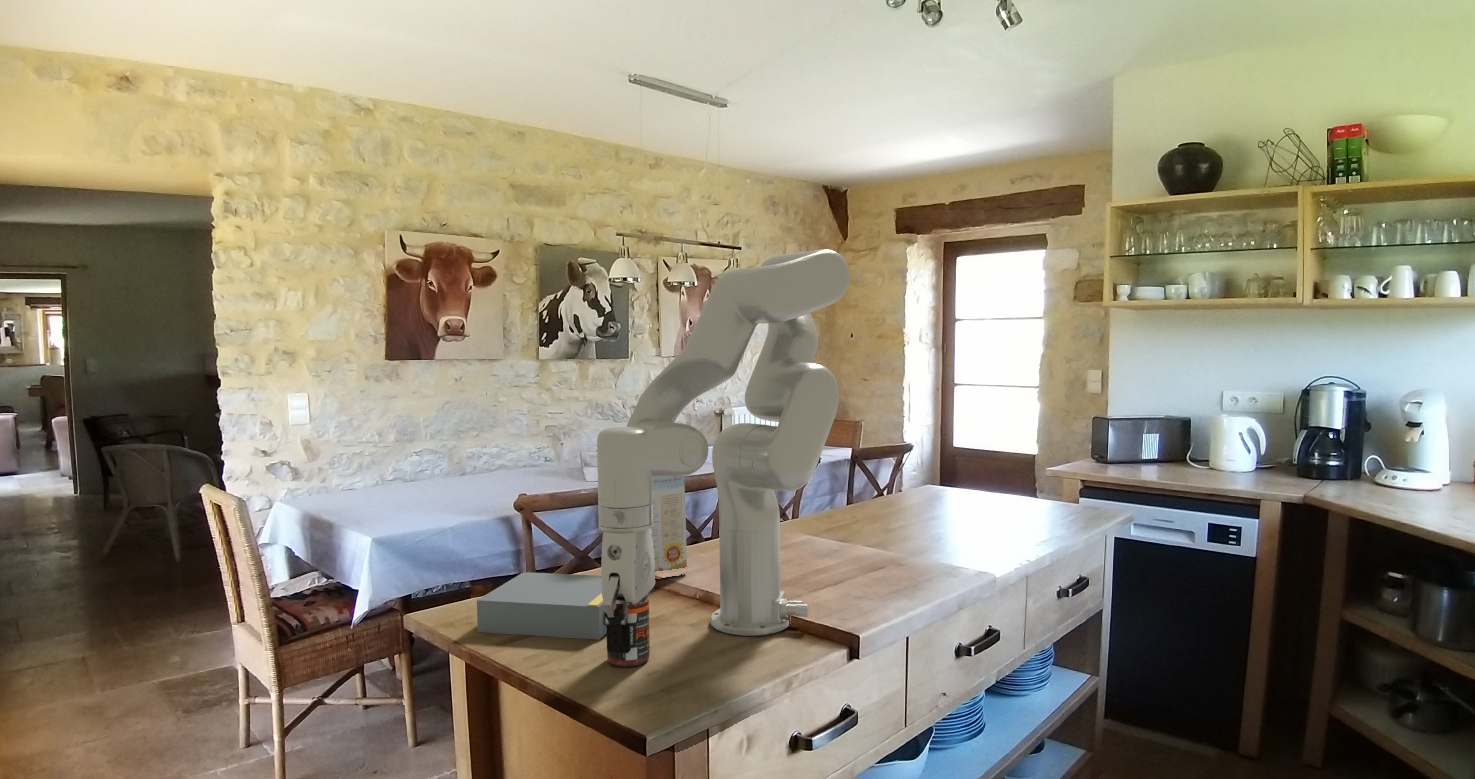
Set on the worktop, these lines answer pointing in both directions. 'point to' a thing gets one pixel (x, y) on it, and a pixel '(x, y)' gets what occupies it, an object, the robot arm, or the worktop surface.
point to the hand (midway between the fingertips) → (628, 640)
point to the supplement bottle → (635, 635)
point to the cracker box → (669, 522)
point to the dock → (545, 606)
